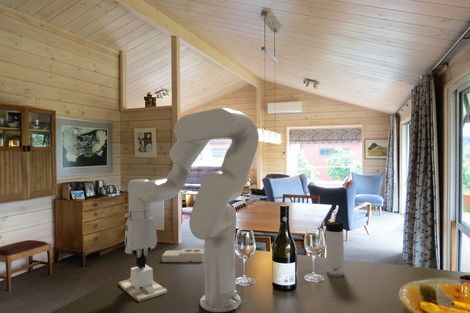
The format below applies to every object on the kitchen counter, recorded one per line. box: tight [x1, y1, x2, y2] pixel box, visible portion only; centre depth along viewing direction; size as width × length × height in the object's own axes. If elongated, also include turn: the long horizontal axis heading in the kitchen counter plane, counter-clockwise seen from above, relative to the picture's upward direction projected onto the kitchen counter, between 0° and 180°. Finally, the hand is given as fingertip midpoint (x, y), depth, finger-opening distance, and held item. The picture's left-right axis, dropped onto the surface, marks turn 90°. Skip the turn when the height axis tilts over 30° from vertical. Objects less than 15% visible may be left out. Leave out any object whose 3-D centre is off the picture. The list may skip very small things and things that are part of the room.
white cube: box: [130, 263, 154, 290], centre depth 114 cm, size 6×6×6 cm
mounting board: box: [118, 278, 168, 303], centre depth 114 cm, size 18×10×1 cm, turn 39°
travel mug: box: [325, 221, 345, 278], centre depth 124 cm, size 6×7×20 cm
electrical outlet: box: [161, 248, 204, 263], centre depth 145 cm, size 7×4×18 cm
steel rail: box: [129, 276, 156, 294], centre depth 114 cm, size 16×2×1 cm, turn 39°
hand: (141, 267), depth 114 cm, fingers closed
